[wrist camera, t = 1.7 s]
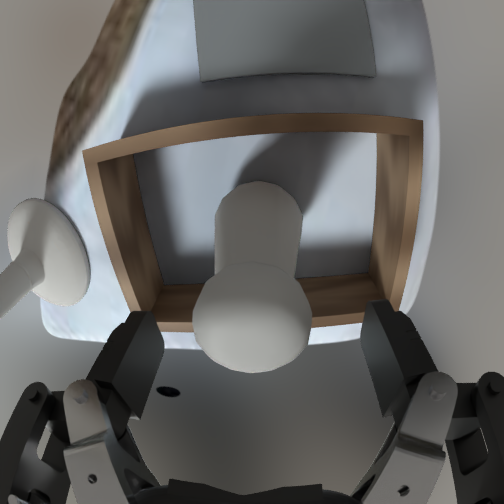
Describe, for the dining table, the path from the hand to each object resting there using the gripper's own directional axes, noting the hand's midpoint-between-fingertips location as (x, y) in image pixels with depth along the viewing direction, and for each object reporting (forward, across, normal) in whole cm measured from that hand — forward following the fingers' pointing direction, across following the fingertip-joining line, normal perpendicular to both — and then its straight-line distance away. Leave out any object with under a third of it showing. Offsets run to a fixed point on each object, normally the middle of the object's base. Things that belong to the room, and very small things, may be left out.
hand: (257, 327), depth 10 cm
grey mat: (+12, -3, -16) cm, 20 cm away
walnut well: (+12, 0, 0) cm, 12 cm away
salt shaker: (+12, 0, 0) cm, 12 cm away
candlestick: (+12, +23, +2) cm, 26 cm away
